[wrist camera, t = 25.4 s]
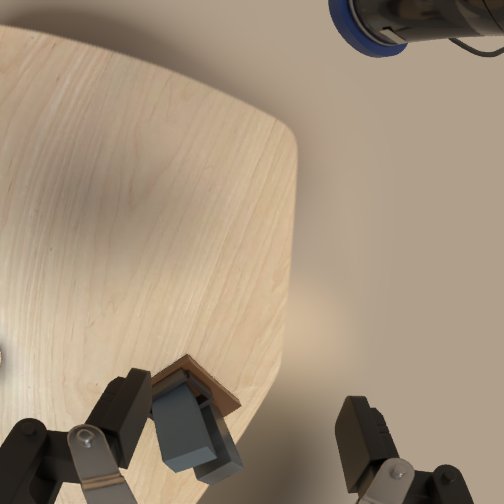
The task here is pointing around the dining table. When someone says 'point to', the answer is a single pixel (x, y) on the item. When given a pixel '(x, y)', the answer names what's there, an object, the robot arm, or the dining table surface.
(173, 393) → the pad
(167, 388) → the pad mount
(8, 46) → the dining table surface
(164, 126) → the dining table surface
